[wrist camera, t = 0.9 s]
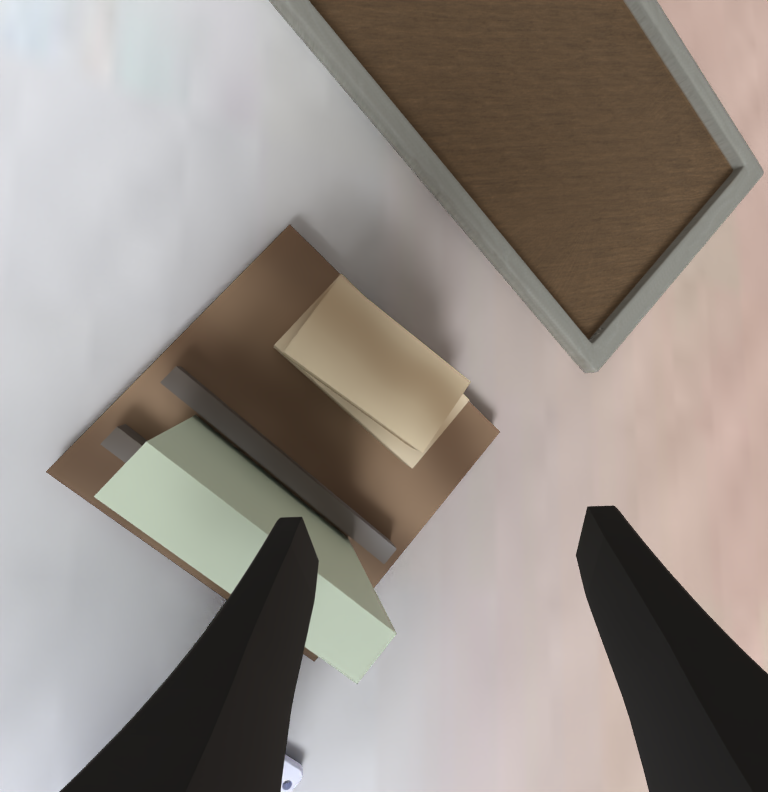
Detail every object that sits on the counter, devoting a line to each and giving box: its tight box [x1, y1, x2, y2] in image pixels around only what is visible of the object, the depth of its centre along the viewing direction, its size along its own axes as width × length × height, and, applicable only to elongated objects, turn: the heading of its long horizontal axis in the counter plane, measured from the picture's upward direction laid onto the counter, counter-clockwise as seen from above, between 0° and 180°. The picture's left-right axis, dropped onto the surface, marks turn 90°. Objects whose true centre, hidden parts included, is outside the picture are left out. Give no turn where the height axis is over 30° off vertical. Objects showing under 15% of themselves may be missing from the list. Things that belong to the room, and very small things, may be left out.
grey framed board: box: [269, 0, 764, 373], centre depth 26 cm, size 19×2×30 cm
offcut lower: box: [274, 274, 469, 469], centre depth 22 cm, size 5×9×2 cm, turn 47°
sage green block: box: [94, 415, 396, 684], centre depth 18 cm, size 2×10×9 cm, turn 47°
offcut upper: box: [282, 277, 471, 453], centre depth 20 cm, size 4×8×2 cm, turn 53°
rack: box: [46, 225, 500, 661], centre depth 22 cm, size 16×16×2 cm
